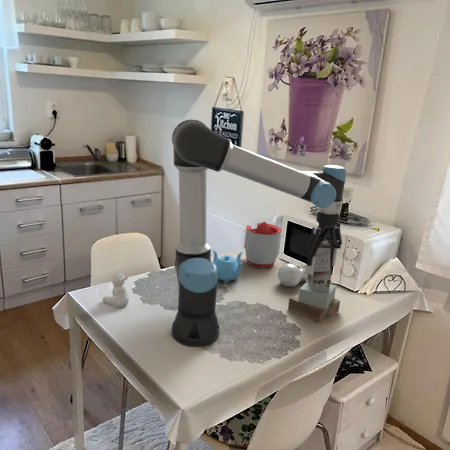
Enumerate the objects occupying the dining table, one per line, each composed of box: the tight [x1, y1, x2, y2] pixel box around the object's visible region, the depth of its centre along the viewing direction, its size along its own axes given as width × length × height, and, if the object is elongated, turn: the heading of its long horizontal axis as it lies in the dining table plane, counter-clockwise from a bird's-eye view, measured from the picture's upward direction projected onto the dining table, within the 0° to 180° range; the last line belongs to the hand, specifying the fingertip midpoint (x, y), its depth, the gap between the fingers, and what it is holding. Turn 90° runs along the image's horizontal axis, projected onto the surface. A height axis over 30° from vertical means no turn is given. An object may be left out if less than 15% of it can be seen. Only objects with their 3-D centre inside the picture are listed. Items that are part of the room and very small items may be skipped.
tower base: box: [287, 293, 341, 324], centre depth 154 cm, size 13×13×5 cm
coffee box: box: [306, 238, 335, 291], centre depth 151 cm, size 9×6×16 cm
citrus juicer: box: [244, 221, 282, 269], centre depth 191 cm, size 16×17×20 cm
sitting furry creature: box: [102, 272, 130, 309], centre depth 149 cm, size 10×9×12 cm
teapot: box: [212, 249, 244, 284], centre depth 174 cm, size 13×13×10 cm
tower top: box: [298, 280, 337, 310], centre depth 152 cm, size 10×10×5 cm
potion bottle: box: [277, 262, 308, 288], centre depth 174 cm, size 9×10×15 cm
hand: (320, 269), depth 151 cm, fingers open, 13 cm apart
